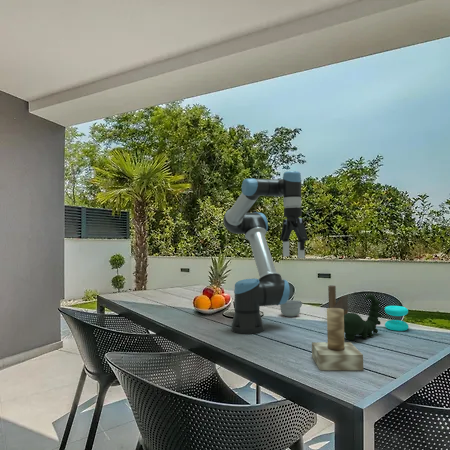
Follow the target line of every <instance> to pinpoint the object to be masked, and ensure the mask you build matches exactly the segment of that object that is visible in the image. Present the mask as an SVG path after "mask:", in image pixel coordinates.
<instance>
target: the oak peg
mask: <svg viewBox="0 0 450 450" xmlns="http://www.w3.org/2000/svg"><path fill="white" fill-rule="evenodd" d="M326 328H327V332H326V334H327V342H328V349H330V350H333V351H342V350H344V349H345V346H344V342H345V332H344V310H343V309H341V308H329V307H328V308H326Z"/></svg>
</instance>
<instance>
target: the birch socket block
mask: <svg viewBox="0 0 450 450" xmlns="http://www.w3.org/2000/svg"><path fill="white" fill-rule="evenodd" d="M344 346H345V349H344V350H342V351H333V350H330V349H328V341H327V342H325V341H324V342H321V341H320V342H318V341H317V342H311V357H312V358H313V361H314V362H315V363H316V366H317V367H318V369H319V371H364V354H363V353H362V352H361V351H360V350H359V349H358V348H357V347H356V346H354V344H353V343H352V342H349V341H348V342H347V341H344Z"/></svg>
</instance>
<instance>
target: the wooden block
mask: <svg viewBox="0 0 450 450" xmlns="http://www.w3.org/2000/svg"><path fill="white" fill-rule="evenodd" d="M327 287H328V288H327V289H328V293H327V294H328V296H327V297H328V308H341V309H343V310H344V315H345V314H347V313H349V312H348V311H349V301H348V300H349V299H348V295H342V296H341V297H340V298H339V299H338V300H337V296H336V295H337V291H336V290H337V288H336V285H328V286H327Z"/></svg>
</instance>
